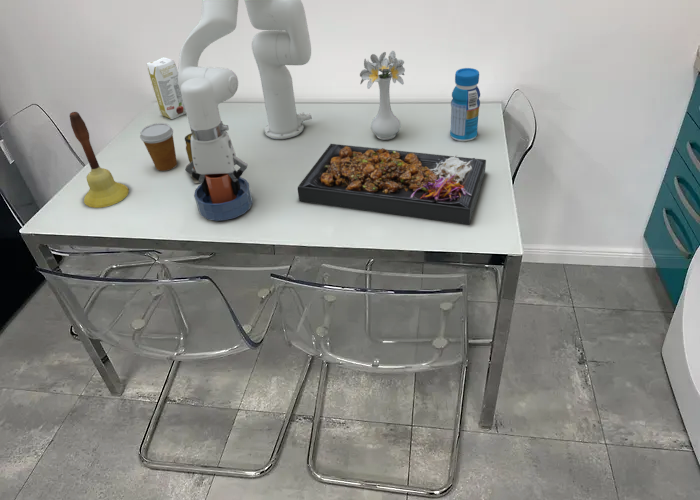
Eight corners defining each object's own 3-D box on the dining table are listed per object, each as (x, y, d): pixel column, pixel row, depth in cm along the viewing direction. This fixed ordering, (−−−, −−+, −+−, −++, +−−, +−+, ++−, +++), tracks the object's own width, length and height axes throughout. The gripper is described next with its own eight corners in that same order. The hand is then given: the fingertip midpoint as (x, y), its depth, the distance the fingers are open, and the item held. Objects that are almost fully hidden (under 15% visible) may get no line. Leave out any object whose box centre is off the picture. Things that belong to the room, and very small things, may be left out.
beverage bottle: (447, 141, 171) (450, 76, 158) (451, 128, 177) (454, 65, 165) (475, 143, 168) (480, 78, 156) (479, 130, 175) (484, 67, 162)
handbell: (136, 184, 163) (107, 103, 148) (115, 208, 154) (82, 124, 138) (98, 183, 165) (65, 103, 150) (75, 207, 156) (37, 123, 140)
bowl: (242, 187, 158) (238, 169, 155) (260, 211, 148) (257, 193, 144) (192, 203, 153) (187, 185, 150) (208, 229, 143) (203, 211, 140)
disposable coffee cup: (174, 174, 166) (163, 137, 159) (145, 173, 168) (132, 136, 161) (187, 158, 174) (177, 122, 166) (159, 157, 175) (148, 121, 168)
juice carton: (191, 112, 201) (177, 59, 189) (171, 121, 196) (155, 67, 184) (178, 107, 205) (164, 55, 193) (158, 116, 200) (142, 63, 188)
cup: (232, 191, 153) (225, 162, 147) (240, 203, 148) (234, 173, 142) (208, 199, 151) (201, 170, 145) (216, 211, 146) (208, 181, 140)
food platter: (484, 173, 155) (487, 139, 148) (469, 224, 137) (471, 188, 130) (331, 156, 168) (328, 124, 162) (299, 201, 150) (294, 167, 144)
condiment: (212, 165, 169) (202, 128, 162) (219, 177, 163) (210, 139, 156) (188, 171, 167) (177, 134, 160) (194, 184, 161) (184, 146, 153)
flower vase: (407, 121, 183) (406, 43, 168) (403, 148, 169) (402, 66, 153) (367, 121, 185) (363, 44, 170) (360, 148, 171) (355, 67, 155)
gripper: (245, 121, 139) (257, 183, 150) (176, 125, 140) (193, 186, 151) (239, 135, 133) (253, 199, 144) (168, 139, 134) (186, 202, 145)
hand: (222, 192), depth 148 cm, fingers closed on cup, 6 cm apart
